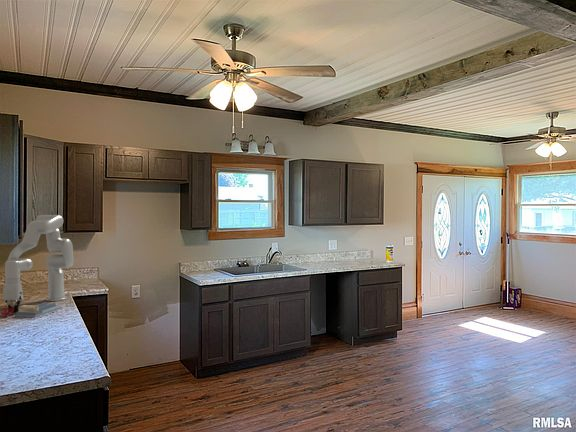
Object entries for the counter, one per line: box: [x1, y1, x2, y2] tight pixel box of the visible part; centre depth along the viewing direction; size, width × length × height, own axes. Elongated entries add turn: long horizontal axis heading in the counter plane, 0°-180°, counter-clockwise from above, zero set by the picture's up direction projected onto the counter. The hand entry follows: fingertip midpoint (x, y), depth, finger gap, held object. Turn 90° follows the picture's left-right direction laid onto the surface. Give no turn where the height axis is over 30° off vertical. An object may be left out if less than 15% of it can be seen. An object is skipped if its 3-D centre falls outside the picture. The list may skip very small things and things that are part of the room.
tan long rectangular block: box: [18, 304, 39, 313], centre depth 258 cm, size 4×10×4 cm, turn 81°
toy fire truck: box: [0, 300, 18, 318], centre depth 260 cm, size 3×14×10 cm, turn 168°
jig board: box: [14, 301, 63, 318], centre depth 266 cm, size 23×14×4 cm, turn 171°
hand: (13, 311), depth 261 cm, fingers closed on toy fire truck, 3 cm apart
